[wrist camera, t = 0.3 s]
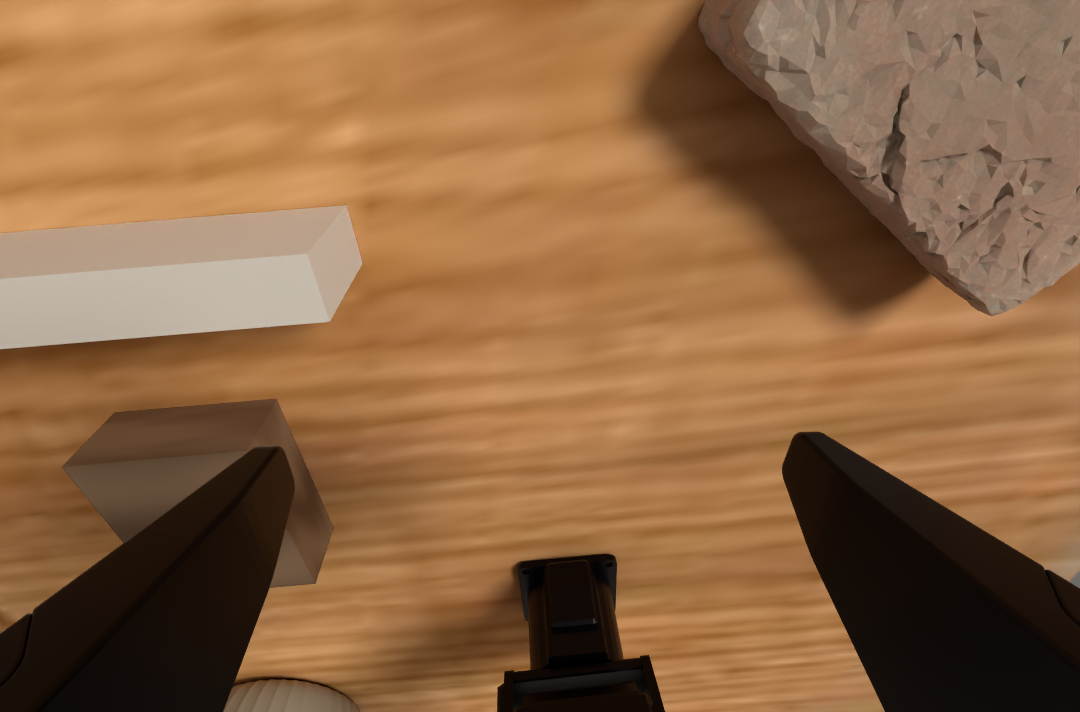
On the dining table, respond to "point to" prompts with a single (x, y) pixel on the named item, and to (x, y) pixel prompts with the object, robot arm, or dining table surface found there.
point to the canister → (286, 698)
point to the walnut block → (196, 472)
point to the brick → (932, 122)
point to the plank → (175, 276)
